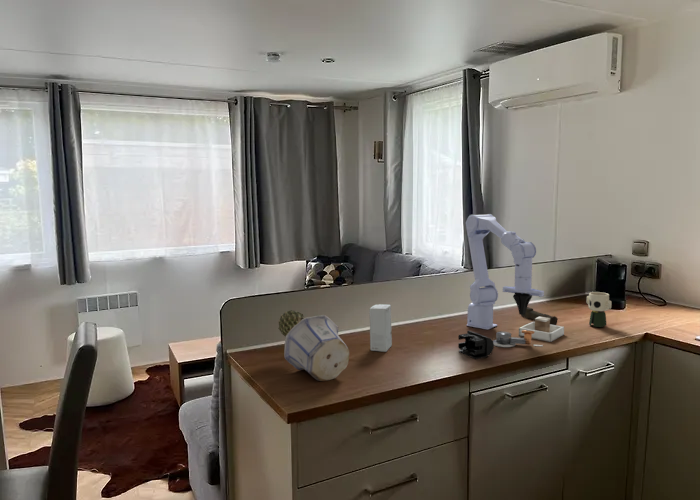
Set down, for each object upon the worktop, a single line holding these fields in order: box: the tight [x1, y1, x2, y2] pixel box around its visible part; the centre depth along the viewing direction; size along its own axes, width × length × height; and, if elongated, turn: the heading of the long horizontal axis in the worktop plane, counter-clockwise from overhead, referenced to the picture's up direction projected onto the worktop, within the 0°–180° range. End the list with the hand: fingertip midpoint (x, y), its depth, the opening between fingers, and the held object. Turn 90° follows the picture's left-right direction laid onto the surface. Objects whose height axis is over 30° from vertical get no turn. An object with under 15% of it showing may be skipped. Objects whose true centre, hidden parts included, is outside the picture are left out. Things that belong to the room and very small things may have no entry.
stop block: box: [534, 316, 550, 333], centre depth 196 cm, size 4×4×6 cm
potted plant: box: [277, 309, 350, 382], centre depth 164 cm, size 18×18×30 cm
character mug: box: [586, 291, 612, 328], centre depth 207 cm, size 11×7×13 cm, turn 26°
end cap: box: [457, 330, 495, 360], centre depth 176 cm, size 10×7×7 cm
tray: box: [518, 321, 565, 342], centre depth 197 cm, size 12×12×3 cm
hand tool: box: [521, 306, 559, 326], centre depth 218 cm, size 19×4×5 cm, turn 21°
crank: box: [495, 330, 534, 346], centre depth 185 cm, size 13×5×5 cm, turn 72°
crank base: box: [492, 339, 544, 349], centre depth 186 cm, size 17×8×1 cm, turn 78°
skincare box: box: [369, 303, 393, 353], centre depth 183 cm, size 8×6×15 cm
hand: (522, 314), depth 190 cm, fingers closed
